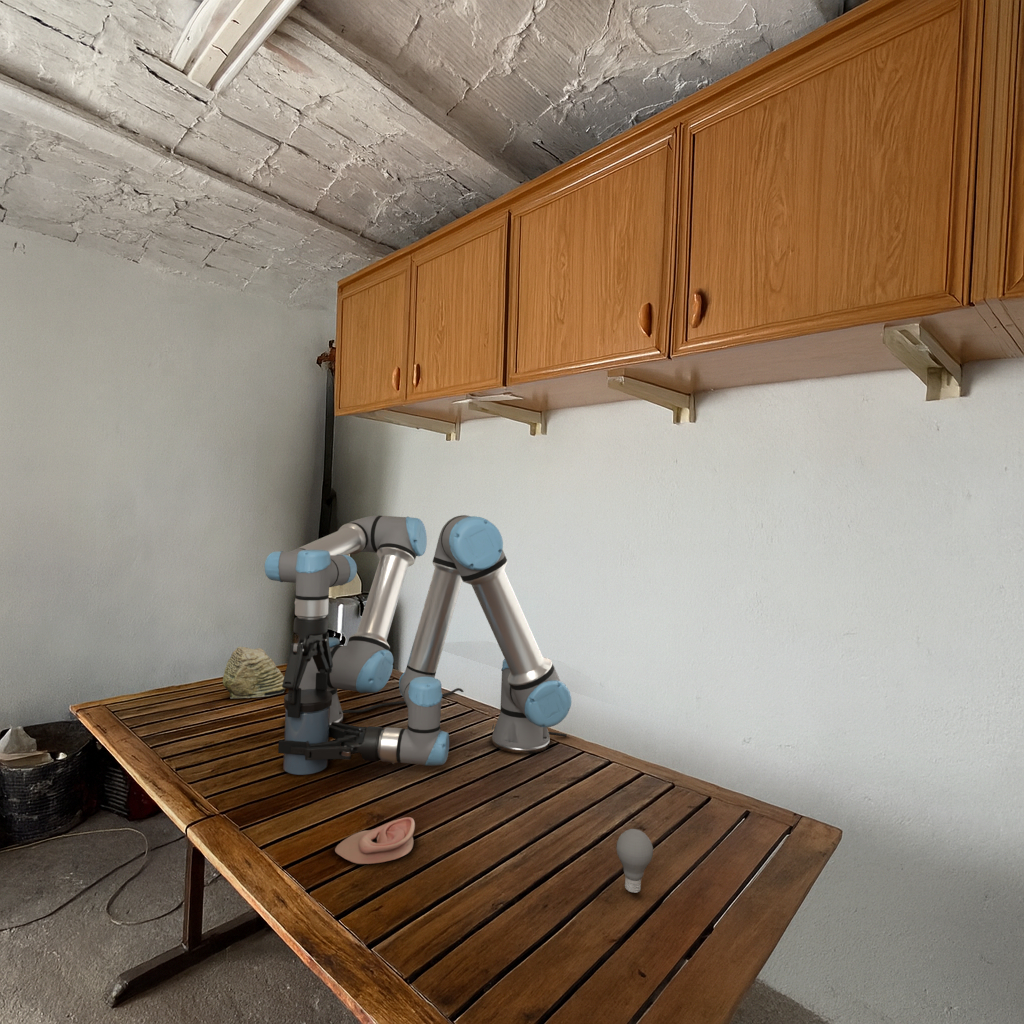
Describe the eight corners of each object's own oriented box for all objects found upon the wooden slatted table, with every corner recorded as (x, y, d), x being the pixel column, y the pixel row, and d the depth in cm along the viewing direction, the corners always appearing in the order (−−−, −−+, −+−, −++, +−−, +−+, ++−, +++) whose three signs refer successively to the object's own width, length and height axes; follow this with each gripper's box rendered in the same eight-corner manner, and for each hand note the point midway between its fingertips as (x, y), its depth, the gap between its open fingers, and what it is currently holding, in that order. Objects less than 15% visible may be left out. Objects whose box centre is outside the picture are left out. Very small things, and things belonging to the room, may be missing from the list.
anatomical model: (327, 836, 111) (356, 806, 122) (326, 858, 111) (355, 826, 122) (398, 848, 108) (421, 815, 119) (397, 871, 108) (420, 836, 119)
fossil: (218, 695, 195) (220, 647, 195) (278, 685, 208) (279, 640, 207) (228, 703, 189) (230, 653, 188) (289, 692, 201) (290, 645, 201)
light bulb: (610, 879, 108) (613, 822, 108) (644, 879, 109) (647, 822, 109) (619, 902, 102) (622, 840, 102) (655, 901, 103) (658, 840, 103)
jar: (320, 775, 144) (322, 707, 143) (276, 773, 144) (279, 705, 143) (333, 758, 154) (335, 693, 153) (292, 756, 154) (294, 691, 153)
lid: (321, 694, 156) (322, 686, 156) (338, 707, 147) (339, 698, 147) (277, 701, 149) (277, 693, 149) (293, 715, 141) (293, 706, 141)
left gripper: (321, 606, 161) (318, 691, 161) (267, 624, 137) (263, 723, 137) (349, 609, 159) (345, 694, 160) (299, 627, 135) (295, 727, 136)
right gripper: (366, 781, 136) (266, 774, 138) (393, 742, 159) (307, 735, 160) (368, 747, 136) (267, 739, 137) (394, 712, 159) (308, 706, 160)
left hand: (307, 708), depth 148 cm, fingers open, 12 cm apart
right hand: (289, 737), depth 149 cm, fingers closed on jar, 10 cm apart
